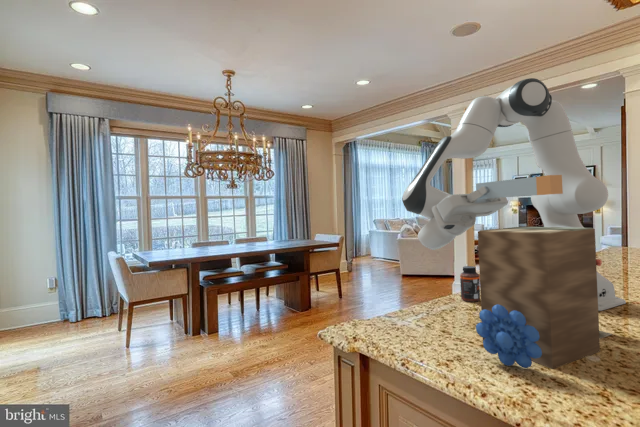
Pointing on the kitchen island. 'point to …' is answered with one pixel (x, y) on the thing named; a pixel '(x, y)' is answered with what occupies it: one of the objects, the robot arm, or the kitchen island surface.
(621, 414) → the kitchen island surface
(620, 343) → the kitchen island surface
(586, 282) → the tall wooden block
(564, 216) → the robot arm
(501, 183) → the grey and tan bar
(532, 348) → the blue flower
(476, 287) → the supplement bottle
